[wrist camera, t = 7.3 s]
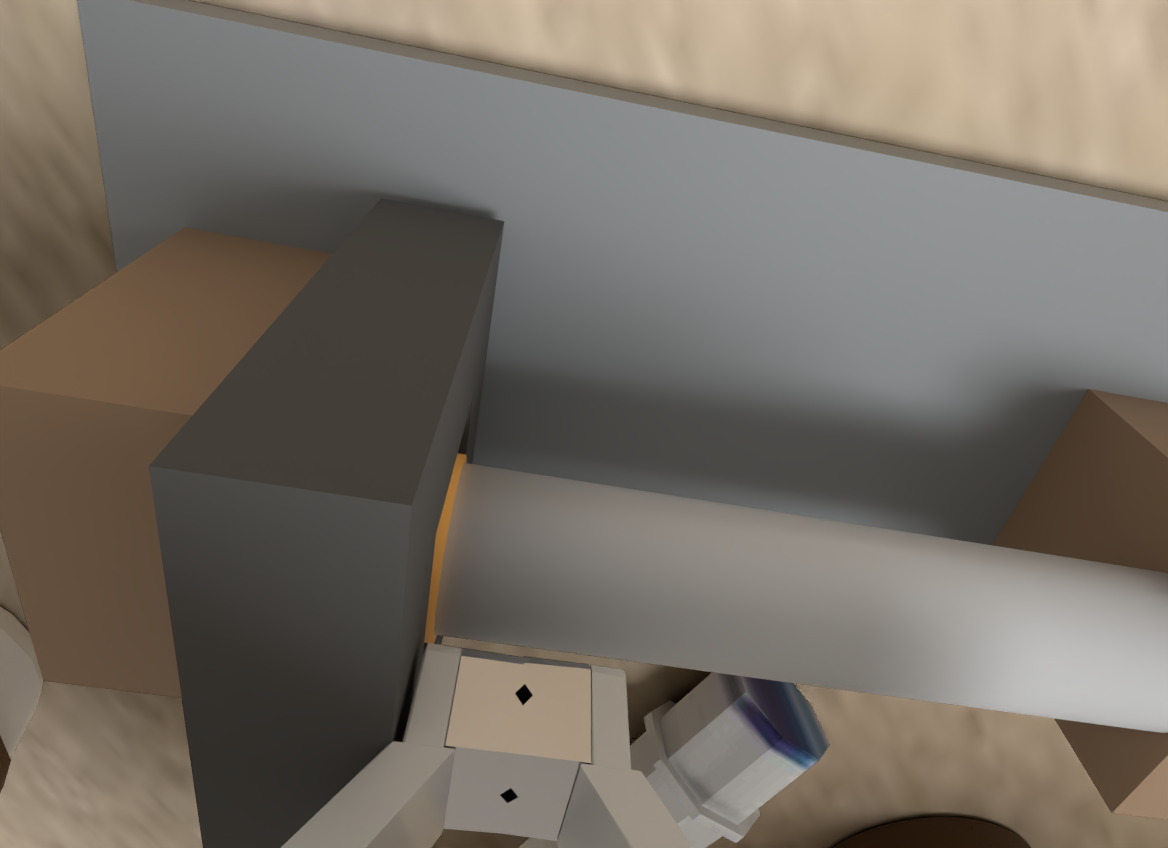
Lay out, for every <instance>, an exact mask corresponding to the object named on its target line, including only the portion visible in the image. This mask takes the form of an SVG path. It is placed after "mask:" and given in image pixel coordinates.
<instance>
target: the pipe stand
mask: <svg viewBox="0 0 1168 848" xmlns="http://www.w3.org/2000/svg"><path fill="white" fill-rule="evenodd" d="M77 3H78V10H79V17H80V24H81V31H82V38H83V45H84V51H85V58H86V65H87V72H88V79H89V86H90V93H91V99H92V106H93V113H94V120H95V127H96V134H97V141H98V147H99V154H100V161H101V168H102V175H103V182H104V189H105V196H106V202H107V209H108V216H109V223H110V230H111V237H112V244H113V250H114V257H115V264H116V271H117V273H115V274H114V275H112V276H111V277H109V278H108V279H106V280H105V281H103V282H102V283H100V284H99V285H97V286H96V287H94V288H93V289H91V290H90V291H88V292H87V293H85V294H84V295H82V296H81V297H79V298H78V299H76V300H75V301H73V302H72V303H70V304H69V305H67V306H66V307H64V308H63V309H61V310H60V311H58V312H57V313H55V314H54V315H52V316H51V317H49V318H48V319H46V320H45V321H43V322H42V323H40V324H39V325H37V326H36V327H34V328H33V329H31V330H30V331H28V332H27V333H25V334H24V335H22V336H21V337H19V338H18V339H16V340H15V341H13V342H12V343H10V344H9V345H7V346H6V347H4V348H3V349H1V350H0V531H1V534H2V538H3V541H4V545H5V548H6V552H7V555H8V559H9V562H10V566H11V569H12V573H13V576H14V580H15V583H16V587H17V590H18V594H19V597H20V601H21V604H22V608H23V611H24V615H25V618H26V622H27V626H28V629H29V633H30V636H31V640H32V643H33V647H34V650H35V654H36V657H37V661H38V664H39V668H40V671H41V675H42V678H43V681H49V682H57V683H65V684H73V685H81V686H89V687H98V688H106V689H114V690H122V691H130V692H138V693H146V694H154V695H162V696H170V697H178V698H182V697H181V690H180V682H179V675H178V668H177V661H176V654H175V647H174V640H173V633H172V626H171V619H170V612H169V605H168V598H167V591H166V584H165V577H164V570H163V563H162V556H161V549H160V542H159V535H158V528H157V521H156V514H155V507H154V500H153V493H152V486H151V479H150V472H149V465H150V464H151V463H152V462H153V460H154V459H155V458H156V457H157V456H158V455H159V453H160V452H161V451H162V450H163V449H164V448H165V447H166V445H167V444H168V443H169V442H170V441H171V440H172V439H173V437H174V436H175V435H176V434H177V433H178V432H179V430H180V429H181V428H182V427H183V426H184V425H185V424H186V422H187V421H188V420H189V419H190V418H191V417H192V415H193V414H194V413H195V412H196V411H197V410H198V409H199V407H200V406H201V405H202V404H203V403H204V402H205V400H206V399H207V398H208V397H209V396H210V395H211V394H212V392H213V391H214V390H215V389H216V388H217V387H218V385H219V384H220V383H221V382H222V381H223V380H224V379H225V377H226V376H227V375H228V374H229V373H230V372H231V370H232V369H233V368H234V367H235V366H236V365H237V364H238V362H239V361H240V360H241V359H242V358H243V357H244V356H245V354H246V353H247V352H248V351H249V350H250V349H251V347H252V346H253V345H254V344H255V343H256V342H257V341H258V339H259V338H260V337H261V336H262V335H263V334H264V332H265V331H266V330H267V329H268V328H269V327H270V326H271V324H272V323H273V322H274V321H275V320H276V319H277V317H278V316H279V315H280V314H281V313H282V312H283V311H284V309H285V308H286V307H287V306H288V305H289V304H290V302H291V301H292V300H293V299H294V298H295V297H296V296H297V294H298V293H299V292H300V291H301V290H302V289H303V287H304V286H305V285H306V284H307V283H308V282H309V281H310V279H311V278H312V277H313V276H314V275H315V274H316V273H317V271H318V270H319V269H320V268H321V267H322V266H323V264H324V263H325V262H326V261H327V260H328V259H329V258H330V256H331V255H332V254H333V253H334V252H335V251H336V249H337V248H338V247H339V246H340V245H341V244H342V243H343V241H344V240H345V239H346V238H347V237H348V236H349V234H350V233H351V232H352V231H353V230H354V229H355V228H356V226H357V225H358V224H359V223H360V222H361V221H362V219H363V218H364V217H365V216H366V215H367V214H368V213H369V211H370V210H371V209H372V208H373V207H374V206H375V204H376V203H377V202H378V201H379V200H380V199H381V198H382V199H388V200H393V201H399V202H404V203H409V204H415V205H420V206H425V207H431V208H436V209H441V210H447V211H452V212H458V213H463V214H468V215H474V216H479V217H484V218H490V219H495V220H500V221H504V228H503V236H502V243H501V251H500V258H499V266H498V273H497V281H496V288H495V296H494V303H493V311H492V318H491V326H490V333H489V341H488V348H487V356H486V363H485V371H484V378H483V386H482V393H481V401H480V408H479V416H478V423H477V431H476V438H475V446H474V453H473V461H472V464H468V463H467V456H466V455H465V454H459V453H458V454H457V458H456V461H455V465H454V469H453V473H452V476H451V480H450V484H449V487H448V491H447V495H446V499H445V502H444V506H443V510H442V514H441V517H440V521H439V525H438V529H437V532H436V539H435V548H434V557H433V566H432V575H431V585H430V594H429V603H428V612H427V621H426V630H425V640H424V643H432V644H434V642H435V639H436V636H437V635H441V636H449V637H456V638H464V639H471V640H478V641H486V642H493V643H500V644H508V645H515V646H523V647H530V648H537V649H545V650H552V651H560V652H567V653H574V654H582V655H589V656H597V657H604V658H611V659H619V660H626V661H634V662H641V663H648V664H656V665H663V666H671V667H678V668H685V669H693V670H700V671H707V672H715V673H722V674H730V675H737V676H744V677H752V678H759V679H767V680H774V681H781V682H789V683H796V684H804V685H811V686H818V687H826V688H833V689H841V690H848V691H855V692H863V693H870V694H877V695H885V696H892V697H900V698H907V699H914V700H922V701H929V702H937V703H944V704H951V705H959V706H966V707H974V708H981V709H988V710H996V711H1003V712H1011V713H1018V714H1025V715H1033V716H1040V717H1048V718H1054V719H1055V720H1056V722H1057V724H1058V725H1059V727H1060V729H1061V730H1062V732H1063V734H1064V735H1065V737H1066V739H1067V740H1068V742H1069V743H1070V745H1071V747H1072V748H1073V750H1074V752H1075V753H1076V755H1077V757H1078V758H1079V760H1080V762H1081V763H1082V765H1083V766H1084V768H1085V770H1086V771H1087V773H1088V775H1089V776H1090V778H1091V780H1092V781H1093V783H1094V785H1095V786H1096V788H1097V789H1098V791H1099V793H1100V794H1101V796H1102V798H1103V799H1104V801H1105V803H1106V804H1107V806H1108V808H1109V809H1110V811H1111V813H1114V814H1123V815H1131V816H1139V817H1147V818H1155V819H1163V820H1168V201H1163V200H1158V199H1153V198H1148V197H1144V196H1139V195H1134V194H1129V193H1124V192H1119V191H1114V190H1110V189H1105V188H1100V187H1095V186H1090V185H1085V184H1080V183H1075V182H1071V181H1066V180H1061V179H1056V178H1051V177H1046V176H1041V175H1036V174H1032V173H1027V172H1022V171H1017V170H1012V169H1007V168H1002V167H998V166H993V165H988V164H983V163H978V162H973V161H968V160H963V159H959V158H954V157H949V156H944V155H939V154H934V153H929V152H925V151H920V150H915V149H910V148H905V147H900V146H895V145H890V144H886V143H881V142H876V141H871V140H866V139H861V138H856V137H852V136H847V135H842V134H837V133H832V132H827V131H822V130H817V129H813V128H808V127H803V126H798V125H793V124H788V123H783V122H778V121H774V120H769V119H764V118H759V117H754V116H749V115H744V114H740V113H735V112H730V111H725V110H720V109H715V108H710V107H705V106H701V105H696V104H691V103H686V102H681V101H676V100H671V99H667V98H662V97H657V96H652V95H647V94H642V93H637V92H632V91H628V90H623V89H618V88H613V87H608V86H603V85H598V84H593V83H589V82H584V81H579V80H574V79H569V78H564V77H559V76H555V75H550V74H545V73H540V72H535V71H530V70H525V69H520V68H516V67H511V66H506V65H501V64H496V63H491V62H486V61H482V60H477V59H472V58H467V57H462V56H457V55H452V54H447V53H443V52H438V51H433V50H428V49H423V48H418V47H413V46H409V45H404V44H399V43H394V42H389V41H384V40H379V39H374V38H370V37H365V36H360V35H355V34H350V33H345V32H340V31H335V30H331V29H326V28H321V27H316V26H311V25H306V24H301V23H297V22H292V21H287V20H282V19H277V18H272V17H267V16H262V15H258V14H253V13H248V12H243V11H238V10H233V9H228V8H224V7H219V6H214V5H209V4H204V3H199V2H194V1H189V0H77Z"/></svg>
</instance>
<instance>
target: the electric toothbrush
mask: <svg viewBox="0 0 1168 848" xmlns="http://www.w3.org/2000/svg"><path fill="white" fill-rule="evenodd" d="M644 722H645V727H646V732H645V733H644V734H642V735H641V736H640V737H639V738H638V739H637V740H636V741H635V742H634V743H633V744H631V745H630V758H631V770H637V771H641V772H642V773H643V775H644V776H645V777H646V779H647V780H648V782H649V783H650V785H651V786H652V788H653V789H654V791H655V792H656V794H657V795H658V796H659V798H660V799H661V801H662V802H663V804H664V805H665V807H666V808H667V810H668V811H669V813H670V814H671V816H672V817H673V818H674V820H675V821H676V823H677V824H678V826H679V827H680V829H681V830H682V832H683V833H684V835H685V836H686V837H687V839H688V840H689V842H690V843H691V845H692V846H693V848H706V847H708V846H709V845H711V844H712V843H713V842H715V841H716V840H718V839H719V838H721V837H722V836H723V837H725V838H727V839H729V840H731V841H733V842H734V843H737V842H738V841H739V840H741V839H742V838H743V837H744V836H745V835H746V833H747V832H748V831H749V829H750V828H751V827H752V825H753V824H754V823H755V821H756V820H757V819H758V817H759V816H760V815H761V814H760V811H759V808H760V807H761V806H762V805H763V804H765V803H766V802H767V801H768V800H770V799H771V798H772V797H773V796H775V795H776V794H777V793H778V792H780V791H781V790H782V789H783V788H785V787H786V786H787V785H788V784H790V783H791V782H792V781H794V780H795V779H796V778H797V777H799V776H800V775H801V774H802V773H804V772H805V771H806V770H807V769H809V768H810V767H811V766H812V765H814V764H815V763H816V762H817V761H819V760H820V758H821V757H822V755H823V754H824V752H825V751H826V749H827V748H828V747H829V745H830V744H829V742H828V740H827V738H826V735H825V733H824V731H823V729H822V727H821V725H820V722H819V720H818V718H817V716H816V714H815V711H814V709H813V707H812V705H811V704H810V703H809V702H808V701H807V699H806V698H805V697H804V696H803V695H802V694H801V692H800V691H799V690H798V689H797V688H796V686H795V685H794V684H793V683H789V682H781V681H774V680H767V679H759V678H752V677H744V676H737V675H730V674H722V673H715V672H712V673H711V674H710V675H708V676H707V677H706V678H705V679H704V680H703V681H702V682H701V683H700V684H698V685H697V686H696V687H695V688H694V689H693V690H692V691H691V692H689V693H688V694H687V695H686V696H685V697H684V698H683V699H682V700H680V701H679V702H678V703H677V704H676V703H674V702H672V701H671V700H669V701H667V702H666V703H664V704H662V705H661V706H659V707H657V708H656V709H654V710H653V711H651V712H650V713H649V714H648V715H646V716H645V717H644ZM519 848H558V846H557V841H551V840H544V839H537V838H529V839H527V840H526V841H525V842H524V843H523V844H522V845H521V846H520V847H519Z"/></svg>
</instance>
